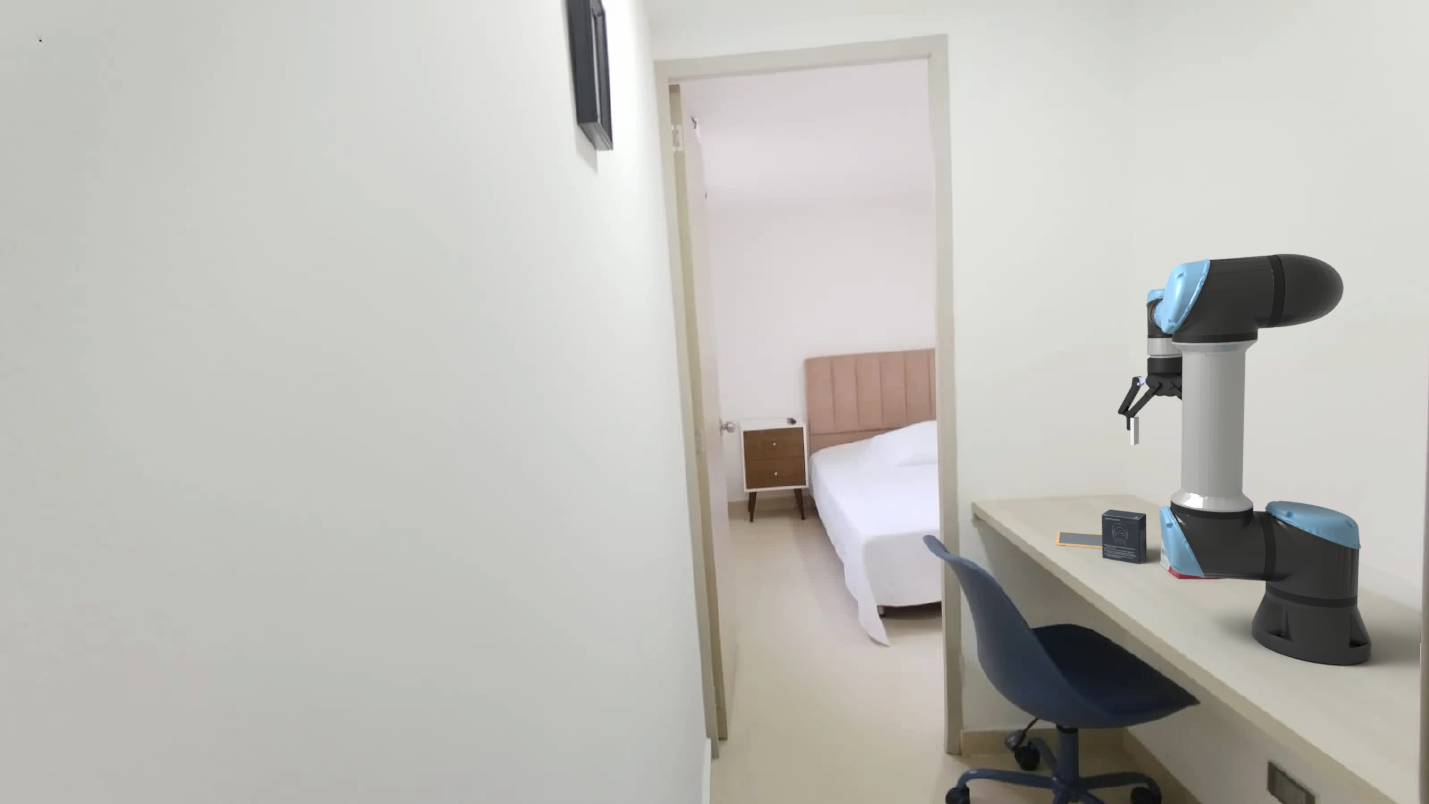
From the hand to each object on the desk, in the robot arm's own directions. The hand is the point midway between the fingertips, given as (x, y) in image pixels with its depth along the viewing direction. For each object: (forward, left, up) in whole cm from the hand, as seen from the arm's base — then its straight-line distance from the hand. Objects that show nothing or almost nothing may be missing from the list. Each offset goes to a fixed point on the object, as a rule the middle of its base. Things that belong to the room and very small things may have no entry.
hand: (1166, 447), depth 162 cm
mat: (+2, +18, -25) cm, 31 cm away
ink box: (-15, -3, -25) cm, 29 cm away
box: (-9, +9, -25) cm, 28 cm away
